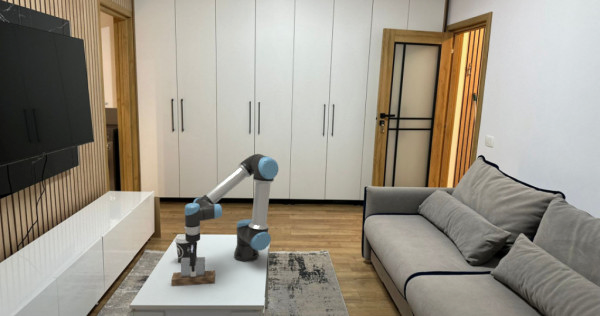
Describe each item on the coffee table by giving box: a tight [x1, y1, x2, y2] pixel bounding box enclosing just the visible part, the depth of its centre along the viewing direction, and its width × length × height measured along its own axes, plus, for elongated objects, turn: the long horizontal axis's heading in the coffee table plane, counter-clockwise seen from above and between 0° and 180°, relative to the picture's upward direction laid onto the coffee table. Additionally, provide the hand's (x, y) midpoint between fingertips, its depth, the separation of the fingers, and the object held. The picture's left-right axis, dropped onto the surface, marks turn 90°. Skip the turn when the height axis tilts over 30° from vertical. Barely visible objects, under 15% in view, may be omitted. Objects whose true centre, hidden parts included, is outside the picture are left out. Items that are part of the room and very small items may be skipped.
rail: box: [170, 270, 216, 287], centre depth 214 cm, size 22×8×4 cm, turn 100°
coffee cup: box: [174, 233, 190, 264], centre depth 237 cm, size 10×10×15 cm
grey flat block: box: [180, 256, 206, 277], centre depth 213 cm, size 12×4×12 cm, turn 100°
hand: (193, 274), depth 214 cm, fingers closed on grey flat block, 4 cm apart
